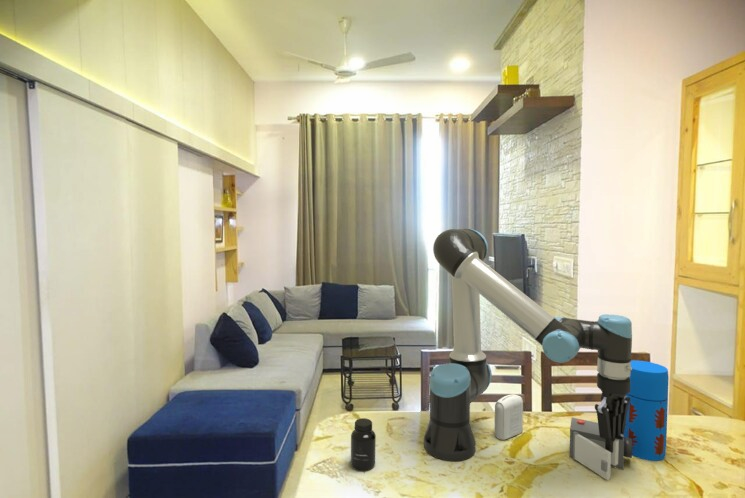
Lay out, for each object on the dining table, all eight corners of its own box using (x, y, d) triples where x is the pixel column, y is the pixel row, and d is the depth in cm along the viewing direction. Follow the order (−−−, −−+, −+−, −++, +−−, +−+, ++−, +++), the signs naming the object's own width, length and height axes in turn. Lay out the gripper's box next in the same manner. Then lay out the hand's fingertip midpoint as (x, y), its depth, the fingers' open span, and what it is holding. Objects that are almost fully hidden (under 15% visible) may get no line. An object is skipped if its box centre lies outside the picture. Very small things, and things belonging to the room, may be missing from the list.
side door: (569, 458, 112) (570, 432, 112) (575, 457, 113) (575, 431, 113) (604, 481, 102) (605, 453, 102) (610, 479, 103) (611, 451, 102)
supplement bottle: (357, 474, 106) (357, 430, 105) (346, 461, 112) (346, 419, 111) (380, 467, 109) (379, 424, 109) (368, 455, 115) (368, 414, 115)
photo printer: (513, 426, 131) (513, 389, 130) (524, 432, 127) (525, 394, 127) (492, 436, 125) (492, 397, 125) (503, 442, 122) (504, 402, 121)
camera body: (569, 456, 114) (570, 427, 113) (571, 443, 121) (571, 415, 120) (632, 472, 106) (633, 440, 106) (630, 456, 113) (630, 427, 113)
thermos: (661, 445, 119) (664, 363, 118) (670, 465, 109) (673, 375, 108) (618, 438, 124) (620, 358, 122) (623, 455, 114) (626, 369, 113)
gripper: (614, 384, 98) (612, 477, 99) (642, 374, 105) (639, 461, 106) (585, 375, 105) (583, 462, 106) (612, 366, 111) (610, 448, 113)
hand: (611, 462), depth 106 cm, fingers closed
